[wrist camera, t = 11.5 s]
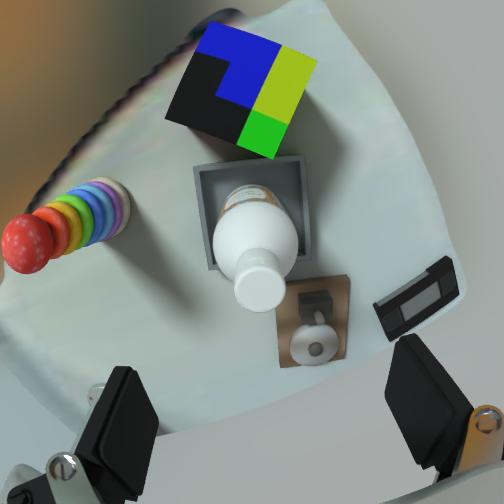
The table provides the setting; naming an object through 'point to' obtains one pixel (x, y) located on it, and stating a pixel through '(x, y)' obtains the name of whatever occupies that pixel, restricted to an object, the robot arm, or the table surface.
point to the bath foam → (255, 246)
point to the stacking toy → (66, 225)
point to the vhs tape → (418, 299)
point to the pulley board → (294, 318)
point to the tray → (261, 173)
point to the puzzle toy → (241, 88)
